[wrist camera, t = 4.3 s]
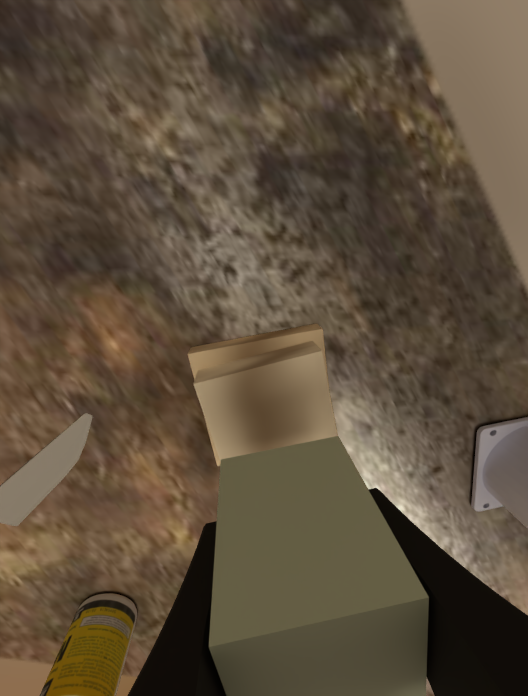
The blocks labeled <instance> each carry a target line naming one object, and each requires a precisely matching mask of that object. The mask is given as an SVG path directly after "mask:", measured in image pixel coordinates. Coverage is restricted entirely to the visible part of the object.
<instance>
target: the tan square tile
mask: <svg viewBox="0 0 528 696" xmlns="http://www.w3.org/2000/svg"><path fill="white" fill-rule="evenodd" d="M193 385H194V387H195V390H196V393H197V396H198V399H199V402H200V405H201V408H202V410H203V413H204V416H205V419H206V422H207V425H208V428H209V430H210V433H211V436H212V439H213V442H214V445H215V448H216V451H217V453H218V456H219V459H220V462H221V459H226V458H230V457H235V456H240V455H245V454H250V453H255V452H260V451H265V450H270V449H275V448H280V447H285V446H290V445H295V444H300V443H305V442H310V441H315V440H320V439H325V438H330V437H335V436H338V434H337V428H336V423H335V418H334V412H333V407H332V402H331V396H330V391H329V386H328V380H327V375H326V370H325V364H324V359H323V354H322V350H321V349H320V348H319V347H318V346H317V345H316V344H315V343H314V342H313V341H309V342H305V343H301V344H297V345H293V346H290V347H286V348H282V349H278V350H274V351H270V352H266V353H262V354H259V355H255V356H251V357H247V358H243V359H239V360H235V361H231V362H228V363H224V364H220V365H216V366H212V367H208V368H204V369H200V370H198V372H197V375H196V378H195V381H194V384H193Z"/></svg>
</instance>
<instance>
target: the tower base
mask: <svg viewBox="0 0 528 696" xmlns="http://www.w3.org/2000/svg"><path fill="white" fill-rule="evenodd" d="M309 341H313V342H314V343H315V344H316V345H317V346H318V347H319V348H320V349H321V350H322V354H323V359H324V364H325V370H326V375H327V380H328V374H327V365H326V356H325V347H324V337H323V329H322V328H321V327H320V326H319V325H318V324H311V325H306V326H301V327H296V328H290V329H285V330H280V331H274V332H269V333H264V334H258V335H253V336H248V337H242V338H237V339H232V340H227V341H221V342H216V343H211V344H205V345H200V346H195V347H191V348H190V350H189V352H188V357H189V361H190V365H191V369H192V372H193V376H194V380H195V378H196V375H197V372H198V370H200V369H204V368H208V367H212V366H216V365H220V364H224V363H228V362H231V361H235V360H239V359H243V358H247V357H251V356H255V355H259V354H262V353H266V352H270V351H274V350H278V349H282V348H286V347H290V346H293V345H297V344H301V343H305V342H309ZM328 386H329V384H328ZM203 414H204V413H203ZM204 417H205V416H204ZM205 421H206V419H205ZM206 425H207V422H206ZM207 429H208V433H209V436H210V440H211V444H212V448H213V451H214V455H215V459H216V463H217V466H220V464H221V462H220V459H219V456H218V453H217V451H216V448H215V445H214V442H213V439H212V436H211V433H210V430H209V428H208V425H207Z"/></svg>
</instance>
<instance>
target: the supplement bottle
mask: <svg viewBox="0 0 528 696" xmlns="http://www.w3.org/2000/svg"><path fill="white" fill-rule="evenodd" d="M136 620H137V609H136V607H135V605H134V603H133V602H132V601H131V600H130V599H128V598H127V597H125V596H122V595H119V594H114V593H105V594H98V595H95V596H92V597H90V598H88V599H87V600H85V601H84V602H83V603H82V604H81V605H80V607H79V608H78V610H77V612H76V615H75V617H74V619H73V621H72V623H71V626H70V628H69V631H68V633H67V635H66V637H65V640H64V642H63V644H62V646H61V649H60V651H59V653H58V655H57V658H56V660H55V662H54V664H53V667H52V669H51V671H50V674H49V676H48V678H47V680H46V683H45V685H44V687H43V689H42V692H41V694H40V696H116V694H117V690H118V686H119V682H120V679H121V675H122V671H123V668H124V664H125V660H126V656H127V653H128V649H129V646H130V642H131V638H132V634H133V631H134V628H135V624H136Z"/></svg>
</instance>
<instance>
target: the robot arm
mask: <svg viewBox="0 0 528 696" xmlns="http://www.w3.org/2000/svg"><path fill="white" fill-rule="evenodd" d="M369 492H370V494H371V495H372V497H373V499H374V501H375V503H376V504H377V506H378V508H379V510H380V511H381V513H382V515H383V517H384V519H385V520H386V522H387V524H388V526H389V527H390V529H391V531H392V533H393V535H394V536H395V538H396V540H397V542H398V543H399V545H400V547H401V549H402V551H403V552H404V554H405V556H406V558H407V559H408V561H409V563H410V565H411V567H412V568H413V570H414V572H415V574H416V575H417V577H418V579H419V581H420V583H421V584H422V586H423V588H424V590H425V591H426V593H427V595H428V597H429V608H428V642H427V675H426V676H427V678H428V681H429V683H430V685H431V688H432V690H433V692H434V695H435V696H528V615H526V614H525V613H523V612H522V611H521V610H519V609H518V608H516V607H515V606H514V605H512V604H511V603H510V602H508V601H507V600H505V599H504V598H503V597H501V596H500V595H499V594H497V593H496V592H495V591H493V590H492V589H491V588H489V587H488V586H487V585H486V584H484V583H483V582H482V581H480V580H479V579H478V578H477V577H475V576H474V575H473V574H472V573H470V572H469V571H468V570H467V569H465V568H464V567H463V566H462V565H461V564H459V563H458V562H457V561H456V560H454V559H453V558H452V557H451V556H450V555H448V554H447V553H446V552H445V551H444V550H443V549H441V548H440V547H439V546H438V545H437V544H436V543H435V542H433V541H432V540H431V539H430V538H429V537H428V536H427V535H426V534H424V533H423V532H422V531H421V530H420V529H419V528H418V527H417V526H416V525H414V524H413V523H412V522H411V521H410V520H409V519H408V518H407V517H406V516H405V515H404V514H403V513H402V512H401V511H400V510H399V509H398V508H397V507H396V506H395V505H394V504H393V503H392V502H390V501H389V499H388V498H387V497H386V496H385V495H384V494H383V493H382V492H381V491H380V490H378V489H377V488H374V489H369ZM471 506H472V508H473V509H474V510H475V511H484V510H489V509H493V508H498V507H503V506H504V507H505V508H506V509H507V510H508V511H509V512H510V513H512V514H513V515H514V516H515V517H516V518H517V519H518V520H519V521H520V522H521V523H522V524H523V525H524V526H525V527H527V528H528V417H525V418H520V419H516V420H511V421H506V422H501V423H496V424H491V425H486V426H482V427H480V428H479V429H478V430H477V437H476V450H475V463H474V476H473V489H472V503H471ZM216 526H217V521H216V522H211V523H207V524H206V525H205V526H204V528H203V531H202V534H201V537H200V540H199V542H198V545H197V548H196V551H195V553H194V556H193V559H192V561H191V564H190V566H189V569H188V571H187V574H186V576H185V579H184V581H183V583H182V586H181V588H180V590H179V593H178V595H177V598H176V600H175V602H174V604H173V607H172V609H171V611H170V613H169V615H168V617H167V619H166V621H165V624H164V626H163V628H162V630H161V632H160V634H159V636H158V638H157V640H156V643H155V645H154V647H153V649H152V650H151V652H150V654H149V656H148V658H147V660H146V662H145V664H144V666H143V668H142V670H141V672H140V674H139V675H138V677H137V679H136V681H135V683H134V685H133V687H132V688H131V690H130V692H129V694H128V696H226V693H225V690H224V687H223V685H222V682H221V679H220V677H219V674H218V671H217V668H216V666H215V663H214V660H213V658H212V655H211V652H210V649H209V634H210V619H211V603H212V588H213V572H214V557H215V541H216Z"/></svg>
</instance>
